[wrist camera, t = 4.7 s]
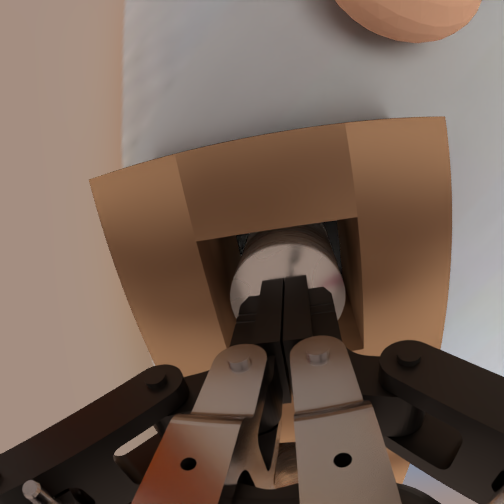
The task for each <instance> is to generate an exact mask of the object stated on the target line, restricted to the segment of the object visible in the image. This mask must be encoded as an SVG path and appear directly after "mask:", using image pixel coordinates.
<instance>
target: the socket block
mask: <svg viewBox="0 0 504 504" xmlns="http://www.w3.org/2000/svg"><path fill="white" fill-rule="evenodd" d="M89 182H90V186H91V190H92V193H93V197H94V201H95V204H96V208H97V211H98V214H99V218H100V221H101V225H102V228H103V231H104V234H105V238H106V241H107V244H108V247H109V250H110V252H111V256H112V259H113V262H114V265H115V267H116V270H117V273H118V276H119V278H120V281H121V284H122V287H123V289H124V292H125V295H126V297H127V300H128V302H129V305H130V308H131V310H132V313H133V315H134V317H135V320H136V322H137V325H138V327H139V330H140V332H141V334H142V336H143V339H144V341H145V343H146V345H147V348H148V350H149V352H150V355H151V357H152V359H153V361H154V363H155V366H157V365H163V364H168V365H173V366H176V367H178V368H179V369H180V370H181V372H182V374H183V376H184V377H186V376H190V375H194V374H198V373H202V372H205V371H208V370H210V368H211V365H212V363H213V361H214V359H215V357H216V356H217V355H218V354H219V353H220V352H222V351H223V350H225V349H227V348H229V346H230V343H231V339H232V335H233V331H234V328H235V324H236V320H237V319H236V317H235V315H234V313H233V310H232V307H231V302H230V290H231V285H232V281H233V278H234V276H235V273H236V270H237V267H238V264H239V261H240V259H241V256H240V252H239V247H238V243H237V238H236V235H240V234H246V233H253V232H259V231H266V230H272V229H279V228H285V227H292V226H299V225H306V224H313V223H319V222H326V221H333V220H337V226H338V235H339V244H340V254H341V265H342V277H343V283H344V286H345V305H344V308H343V311H342V314H341V316H340V318H339V319H338V324H339V329H340V334H341V338H342V342H343V343H344V344H345V346H346V347H347V348H348V349H349V350H351V351H353V352H355V353H357V354H361V355H367V356H380V355H381V353H382V352H383V350H384V349H385V348H386V347H388V346H389V345H391V344H393V343H395V342H398V341H402V340H416V341H421V342H423V343H426V344H428V345H430V346H433V347H435V348H437V349H440V348H441V343H442V336H443V330H444V323H445V316H446V308H447V300H448V290H449V279H450V265H451V245H452V191H451V171H450V157H449V146H448V136H447V128H446V120H445V117H409V118H390V119H377V120H365V121H355V122H346V123H337V124H329V125H321V126H314V127H307V128H300V129H293V130H287V131H281V132H275V133H269V134H263V135H258V136H253V137H247V138H242V139H237V140H232V141H227V142H223V143H218V144H214V145H209V146H205V147H200V148H196V149H192V150H188V151H184V152H180V153H176V154H172V155H168V156H164V157H161V158H157V159H153V160H150V161H146V162H143V163H139V164H136V165H133V166H129V167H126V168H123V169H120V170H117V171H113V172H110V173H108V174H105V175H101V176H98V177H95V178H93V179H90V180H89ZM294 414H295V408H294V400H293V395H292V403H286V404H282V417H281V420H282V431H281V437H280V443H279V447H280V446H281V445H282V444H284V443H286V442H295V430H294ZM386 450H387V453H388V456H389V460H390V463H391V467H392V470H393V473H394V477H395V480H396V483H399V484H402V483H403V480H404V478H405V475H406V472H407V470H408V467H409V464H410V463H409V462H408V461H406V460H404V459H403V458H401V457H400V456H398V455H397V454H395V453H394V452H392V451H391V450H389V449H388V448H386ZM276 462H277V461H276ZM275 475H276V467H275V473H274V487H275Z"/></svg>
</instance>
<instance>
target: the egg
mask: <svg viewBox="0 0 504 504" xmlns="http://www.w3.org/2000/svg"><path fill="white" fill-rule="evenodd" d="M335 1H336V2H337V4H338V5H339V6H340V7H341V8H342V9H343V10H344V11H345V12H346V13H347V14H348V15H349V16H350V17H351V18H352V19H353V20H354V21H356V22H357V23H359V24H360V25H362V26H363V27H365V28H366V29H368V30H370V31H372V32H374V33H376V34H378V35H381V36H384V37H387V38H390V39H393V40H396V41H403V42H411V43H422V42H430V41H437V40H441V39H443V38H445V37H447V36H449V35H452V34H454V33H455V32H457V31H458V30H460V29H461V28H462V27H464V26H465V25H467V24H468V23H469V21H470V20H471V19H472V18H473V16H474V15H475V14H476V13H477V11H478V8H479V6H480V3H481V1H482V0H335Z"/></svg>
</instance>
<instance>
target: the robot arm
mask: <svg viewBox="0 0 504 504" xmlns="http://www.w3.org/2000/svg"><path fill="white" fill-rule="evenodd" d="M292 395H293V400H294V408H295V414H294V430H295V442H296V455H297V469H298V483H296V484H293V485H289V486H285V487H281V488H277V489H274V473H275V467H276V461H277V455H278V449H279V443H280V437H281V431H282V420H281V417H282V404H286V403H292ZM151 426H154V428H155V429H156V431H157V432H158V433H157V434H156V435H154V436H153V437H151V438H150V439H148V440H147V441H145V442H144V443H142V444H141V445H139V446H138V447H136V448H135V449H133V450H132V451H130V452H129V453H127V454H125V455H123V456H115V455H114V453H115V451H116V450H117V449H118V448H119V447H121V446H122V445H124V444H125V443H127V442H128V441H130V440H131V439H133V438H134V437H136V436H138V435H139V434H141V433H142V432H144V431H145V430H147V429H148V428H150V427H151ZM386 448H388V449H389V450H391V451H392V452H394V453H395V454H397V455H398V456H400V457H401V458H403V459H404V460H406V461H408V462H409V463H411V464H412V465H414V466H415V467H417V468H419V469H420V470H422V471H424V472H425V473H427V474H428V475H430V476H431V477H433V478H435V479H436V480H438V481H440V482H442V483H443V484H445V485H446V486H448V487H450V488H452V489H453V490H456V491H457V492H459V493H460V494H462V495H464V496H466V497H467V498H469V499H471V500H473V501H475V502H476V503H478V504H504V377H503V376H500V375H498V374H495V373H493V372H491V371H488V370H486V369H484V368H481V367H479V366H477V365H474V364H472V363H470V362H467V361H465V360H463V359H460V358H458V357H456V356H453V355H451V354H449V353H447V352H444V351H442V350H440V349H437V348H435V347H433V346H430V345H428V344H426V343H423V342H421V341H416V340H402V341H398V342H395V343H393V344H391V345H389V346H388V347H386V348H385V349H384V350H383V352H382V353H381V355H380V356H367V355H361V354H357V353H355V352H353V351H351V350H349V349H348V348H347V347H346V346H345V344H344V343H343V342H342V338H341V334H340V329H339V324H338V320H337V315H336V311H335V306H334V302H333V297H332V293H331V292H330V291H328V290H327V289H326V288H325V287H317V288H309V289H308V283H307V276H306V275H299V276H292V277H285V281H284V278H278V279H270V280H263V281H262V284H261V290H260V295H256V296H249V297H248V298H247V299H246V300H245V301H244V302H243V303H242V304H241V305H240V309H239V313H238V316H237V320H236V324H235V328H234V331H233V335H232V339H231V343H230V346H229V348H227V349H225V350H223V351H222V352H220V353H219V354H218V355H217V356H216V357H215V359H214V361H213V363H212V365H211V368H210V370H208V371H205V372H202V373H198V374H194V375H190V376H186V377H184V376H183V374H182V372H181V370H180V369H179V368H178V367H176V366H173V365H168V364H163V365H157V366H153V367H151V368H148V369H146V370H145V371H143V372H141V373H140V374H138V375H137V376H135V377H133V378H132V379H130V380H128V381H127V382H125V383H124V384H122V385H120V386H119V387H117V388H116V389H114V390H112V391H110V392H109V393H107V394H105V395H104V396H102V397H100V398H99V399H97V400H95V401H94V402H92V403H90V404H89V405H87V406H85V407H84V408H82V409H80V410H79V411H77V412H75V413H73V414H72V415H70V416H68V417H67V418H65V419H63V420H61V421H60V422H58V423H56V424H54V425H53V426H51V427H49V428H47V429H46V430H44V431H42V432H40V433H38V434H37V435H35V436H33V437H31V438H30V439H28V440H26V441H24V442H23V443H20V444H19V445H17V446H15V447H13V448H12V449H9V450H7V451H6V452H4V453H2V454H0V504H441V503H439V502H438V501H436V500H435V499H433V498H432V497H430V496H429V495H427V494H425V493H424V492H422V491H420V490H418V489H416V488H413V487H410V486H407V485H404V484H399V483H396V480H395V477H394V473H393V470H392V467H391V463H390V460H389V456H388V453H387V450H386Z"/></svg>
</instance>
